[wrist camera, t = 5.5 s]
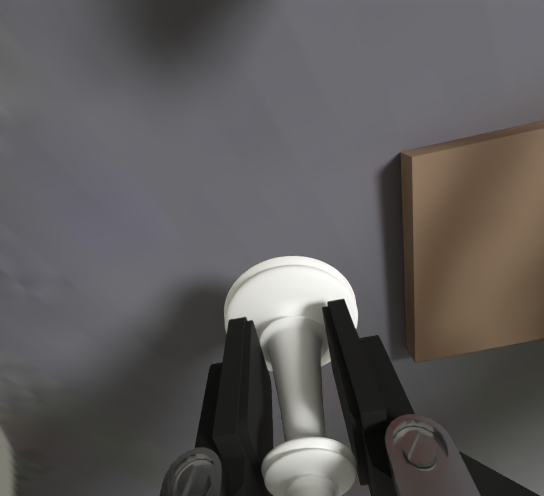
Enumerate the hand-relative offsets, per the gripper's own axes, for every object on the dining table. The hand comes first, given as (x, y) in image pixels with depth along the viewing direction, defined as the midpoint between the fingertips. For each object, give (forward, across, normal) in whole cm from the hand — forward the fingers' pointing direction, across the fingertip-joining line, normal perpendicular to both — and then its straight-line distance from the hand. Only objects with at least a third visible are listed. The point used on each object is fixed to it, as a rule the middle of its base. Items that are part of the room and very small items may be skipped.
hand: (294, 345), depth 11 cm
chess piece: (+2, 0, 0) cm, 2 cm away
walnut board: (+7, -15, +2) cm, 17 cm away
